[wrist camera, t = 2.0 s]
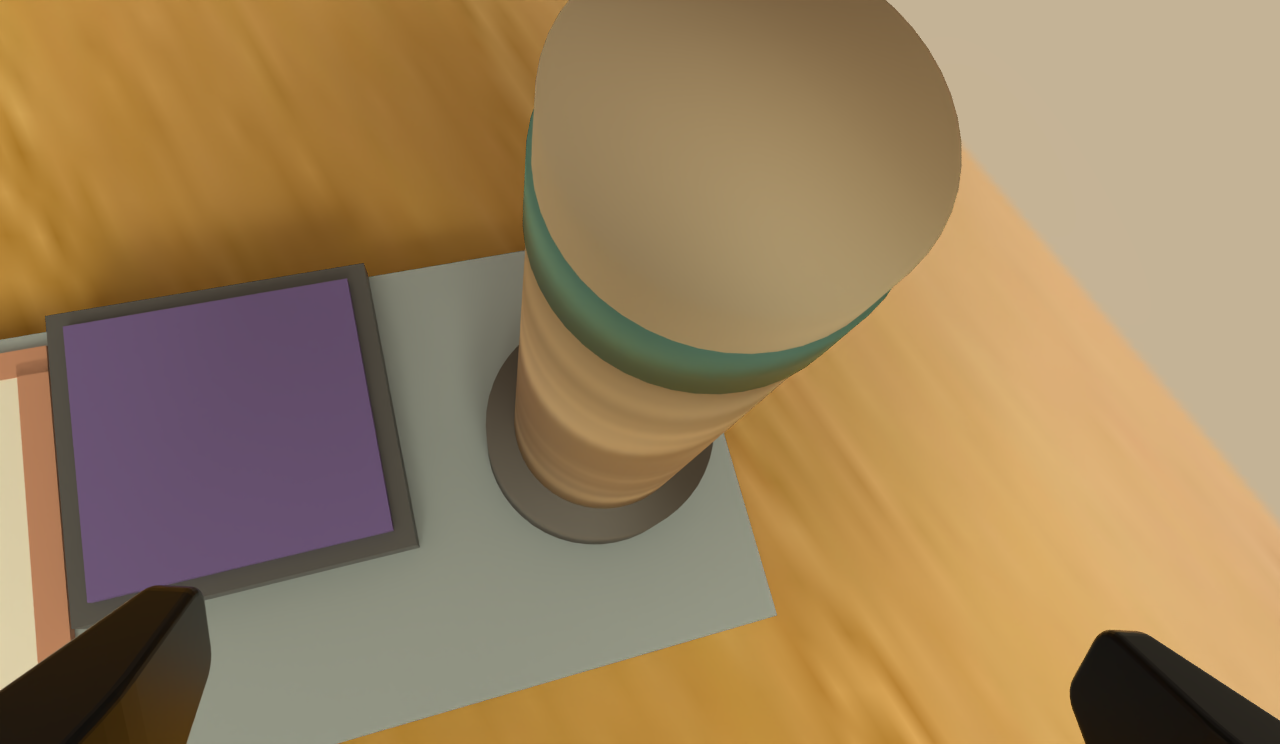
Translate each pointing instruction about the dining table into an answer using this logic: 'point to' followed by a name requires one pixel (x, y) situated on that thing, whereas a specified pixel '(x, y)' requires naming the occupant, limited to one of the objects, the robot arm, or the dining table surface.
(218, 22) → the dining table surface
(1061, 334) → the dining table surface
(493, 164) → the dining table surface
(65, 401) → the stamp board
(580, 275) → the stamp
